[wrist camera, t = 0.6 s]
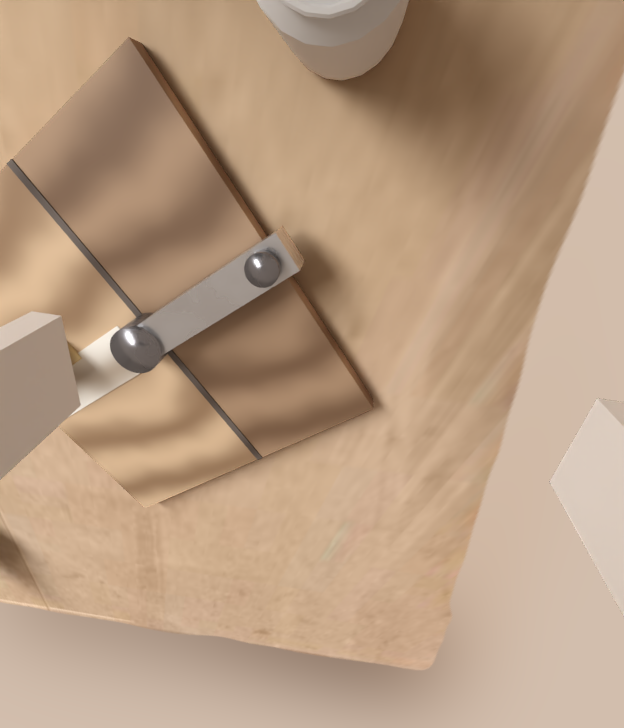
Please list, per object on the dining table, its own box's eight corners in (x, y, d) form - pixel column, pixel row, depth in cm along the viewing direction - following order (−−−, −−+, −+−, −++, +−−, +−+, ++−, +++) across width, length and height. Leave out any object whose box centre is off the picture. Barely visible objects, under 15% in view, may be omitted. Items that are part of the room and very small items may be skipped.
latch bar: (153, 361, 36) (131, 383, 33) (123, 326, 35) (96, 345, 31) (308, 266, 30) (301, 280, 27) (279, 219, 29) (267, 228, 26)
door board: (-83, 271, 37) (-138, 286, 33) (141, 43, 26) (100, 24, 22) (151, 497, 48) (131, 529, 44) (372, 399, 37) (373, 429, 33)
